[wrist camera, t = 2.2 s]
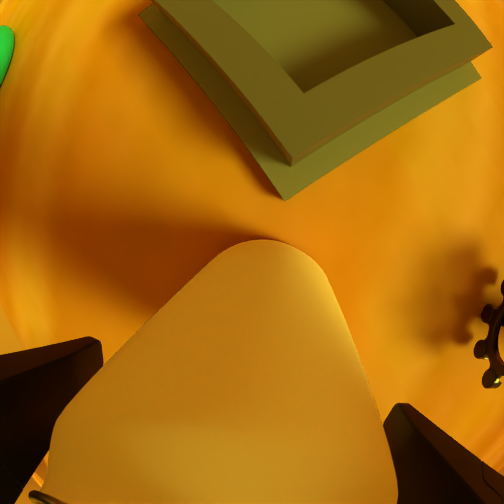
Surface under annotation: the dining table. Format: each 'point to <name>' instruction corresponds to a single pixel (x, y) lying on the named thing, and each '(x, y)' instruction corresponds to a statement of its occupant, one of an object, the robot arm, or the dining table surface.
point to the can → (229, 399)
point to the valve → (491, 344)
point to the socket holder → (319, 71)
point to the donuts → (5, 49)
